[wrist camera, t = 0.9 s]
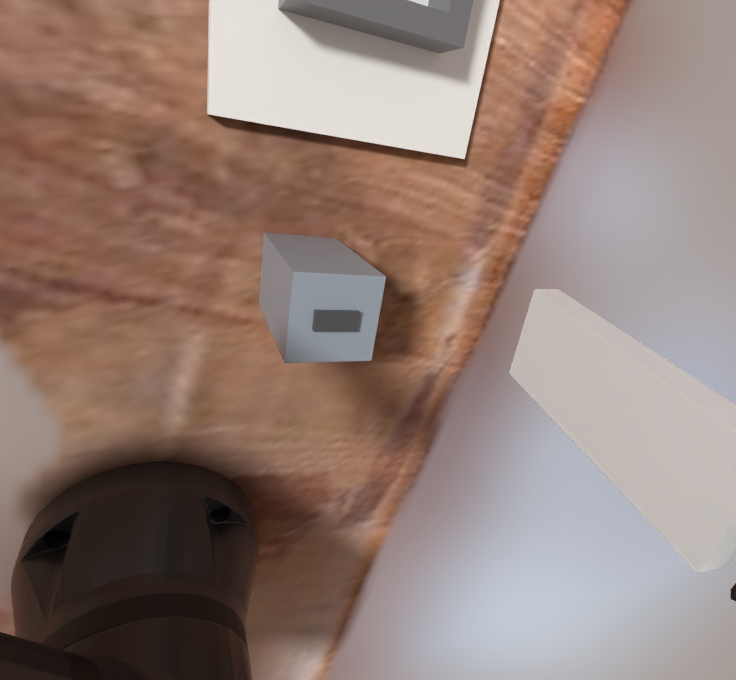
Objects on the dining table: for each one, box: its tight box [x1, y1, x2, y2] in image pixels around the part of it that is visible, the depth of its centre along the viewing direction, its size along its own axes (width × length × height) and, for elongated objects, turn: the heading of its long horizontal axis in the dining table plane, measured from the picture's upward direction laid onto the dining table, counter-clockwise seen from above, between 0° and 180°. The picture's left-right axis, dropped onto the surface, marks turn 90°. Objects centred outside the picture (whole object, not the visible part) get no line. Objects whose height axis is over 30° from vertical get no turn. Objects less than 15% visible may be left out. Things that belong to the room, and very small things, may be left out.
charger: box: [259, 233, 386, 363], centre depth 25 cm, size 4×4×8 cm
